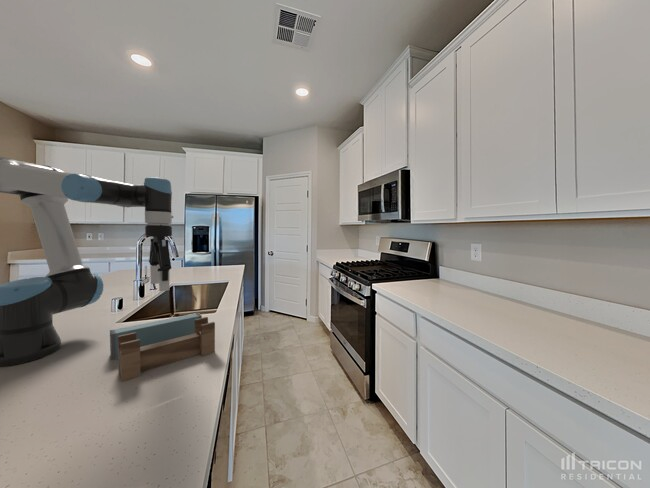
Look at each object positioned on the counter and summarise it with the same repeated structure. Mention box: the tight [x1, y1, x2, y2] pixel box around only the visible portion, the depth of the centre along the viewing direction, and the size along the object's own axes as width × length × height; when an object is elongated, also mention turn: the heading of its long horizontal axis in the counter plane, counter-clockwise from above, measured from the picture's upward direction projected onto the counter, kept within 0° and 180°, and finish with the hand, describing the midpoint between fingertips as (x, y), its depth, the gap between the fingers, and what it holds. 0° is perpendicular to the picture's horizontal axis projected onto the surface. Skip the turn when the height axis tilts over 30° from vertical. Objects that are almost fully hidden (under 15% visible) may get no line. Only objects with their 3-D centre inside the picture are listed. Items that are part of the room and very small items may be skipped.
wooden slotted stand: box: [118, 316, 216, 382], centre depth 77 cm, size 7×24×10 cm, turn 134°
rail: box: [109, 312, 203, 361], centre depth 87 cm, size 4×26×8 cm, turn 134°
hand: (159, 287), depth 86 cm, fingers open, 13 cm apart
